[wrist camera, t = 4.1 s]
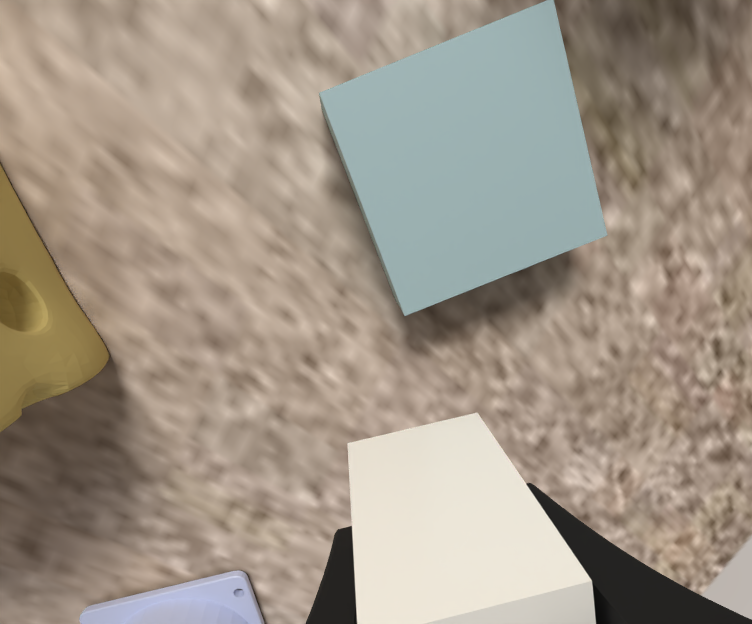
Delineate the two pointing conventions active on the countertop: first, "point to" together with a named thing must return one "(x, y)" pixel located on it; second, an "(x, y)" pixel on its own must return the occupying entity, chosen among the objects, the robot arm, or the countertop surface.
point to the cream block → (456, 534)
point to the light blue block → (468, 158)
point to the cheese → (37, 319)
